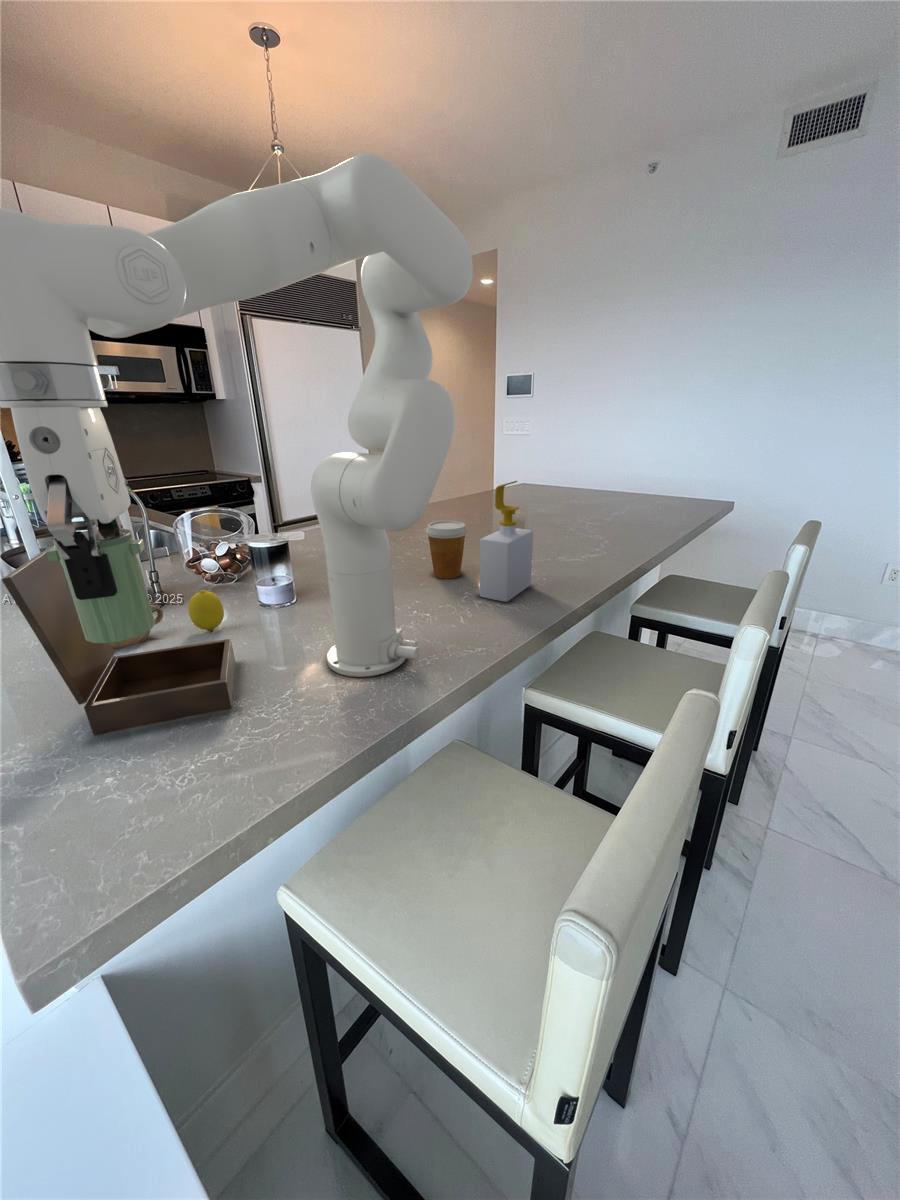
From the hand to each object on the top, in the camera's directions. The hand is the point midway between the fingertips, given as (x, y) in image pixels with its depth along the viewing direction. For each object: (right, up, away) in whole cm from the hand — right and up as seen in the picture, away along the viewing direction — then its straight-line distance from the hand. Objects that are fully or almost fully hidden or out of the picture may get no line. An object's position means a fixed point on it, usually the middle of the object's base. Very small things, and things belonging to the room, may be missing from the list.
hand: (107, 583), depth 49 cm
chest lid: (-13, -4, +12) cm, 18 cm away
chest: (-4, -15, +19) cm, 25 cm away
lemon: (-9, -7, +40) cm, 42 cm away
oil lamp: (-21, -9, +36) cm, 43 cm away
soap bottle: (+46, 0, +57) cm, 73 cm away
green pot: (0, -5, +2) cm, 5 cm away
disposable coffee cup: (+34, +4, +68) cm, 76 cm away
